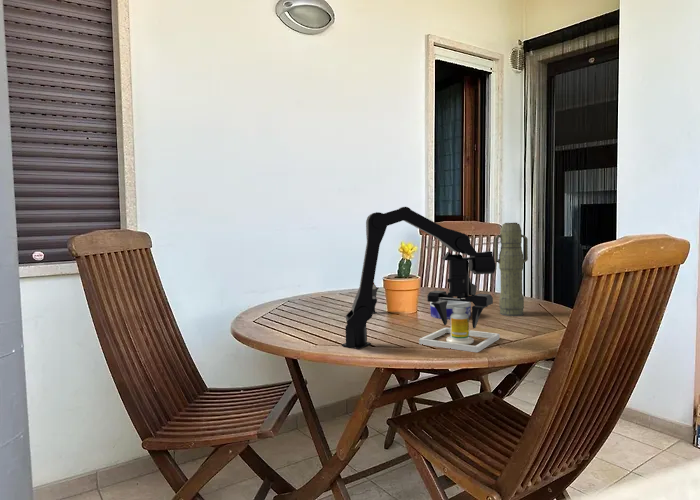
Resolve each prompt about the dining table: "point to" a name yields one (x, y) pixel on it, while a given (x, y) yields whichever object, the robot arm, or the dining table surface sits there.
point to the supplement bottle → (459, 323)
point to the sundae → (374, 292)
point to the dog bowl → (451, 308)
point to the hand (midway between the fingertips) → (459, 326)
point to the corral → (429, 341)
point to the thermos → (511, 268)
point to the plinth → (468, 341)
